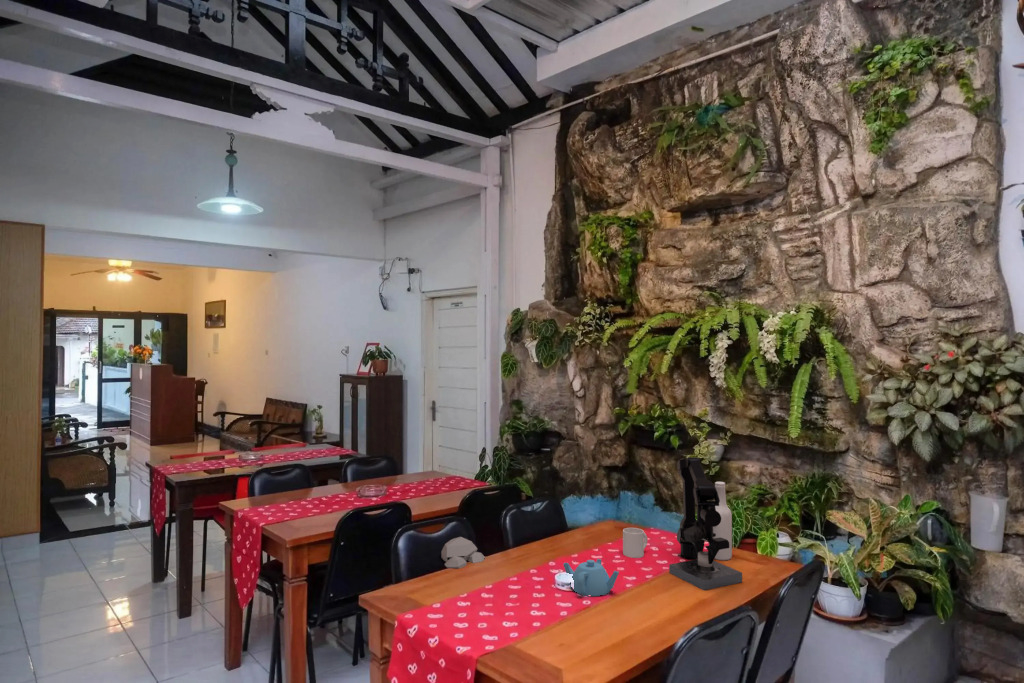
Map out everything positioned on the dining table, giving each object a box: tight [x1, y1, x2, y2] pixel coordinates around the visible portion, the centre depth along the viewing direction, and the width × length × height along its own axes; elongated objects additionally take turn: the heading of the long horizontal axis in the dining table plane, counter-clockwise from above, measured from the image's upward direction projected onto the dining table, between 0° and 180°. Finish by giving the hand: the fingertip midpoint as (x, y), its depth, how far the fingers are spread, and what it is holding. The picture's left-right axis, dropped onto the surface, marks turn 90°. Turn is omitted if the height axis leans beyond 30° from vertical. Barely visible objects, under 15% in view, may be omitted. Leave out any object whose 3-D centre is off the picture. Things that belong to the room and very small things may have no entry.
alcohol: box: [713, 481, 733, 561], centre depth 251 cm, size 9×9×30 cm
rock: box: [440, 536, 486, 570], centre depth 240 cm, size 18×20×10 cm
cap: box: [697, 550, 712, 567], centre depth 228 cm, size 5×5×4 cm
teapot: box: [562, 558, 620, 597], centre depth 214 cm, size 15×15×11 cm
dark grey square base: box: [668, 558, 743, 591], centre depth 228 cm, size 18×18×4 cm
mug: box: [622, 527, 648, 559], centre depth 253 cm, size 12×8×10 cm
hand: (705, 561), depth 228 cm, fingers closed on cap, 5 cm apart
